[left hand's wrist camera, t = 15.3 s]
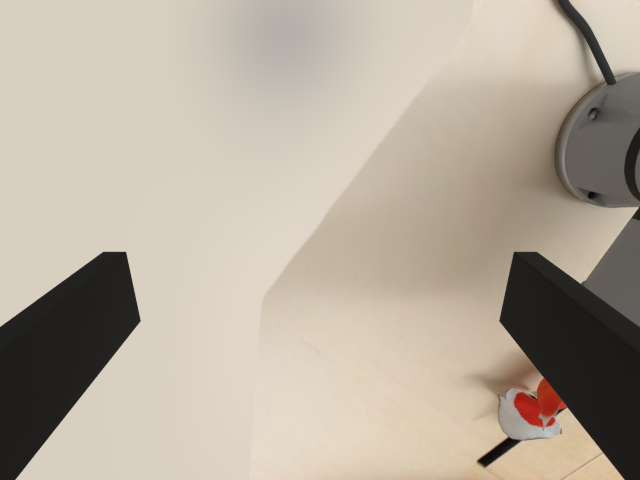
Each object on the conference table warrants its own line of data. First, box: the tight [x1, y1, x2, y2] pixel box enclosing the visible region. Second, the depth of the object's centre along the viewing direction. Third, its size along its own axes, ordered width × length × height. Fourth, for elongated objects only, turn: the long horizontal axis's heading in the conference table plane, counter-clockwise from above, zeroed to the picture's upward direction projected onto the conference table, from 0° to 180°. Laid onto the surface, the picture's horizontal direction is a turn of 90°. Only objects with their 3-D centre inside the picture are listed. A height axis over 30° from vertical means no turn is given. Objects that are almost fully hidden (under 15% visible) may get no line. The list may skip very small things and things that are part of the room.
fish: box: [498, 378, 567, 440], centre depth 54 cm, size 11×16×10 cm
